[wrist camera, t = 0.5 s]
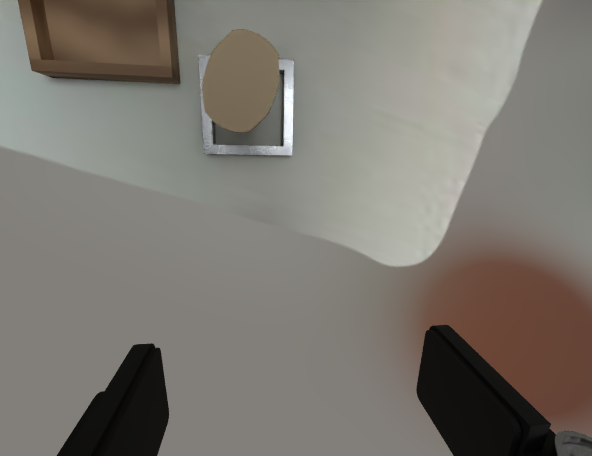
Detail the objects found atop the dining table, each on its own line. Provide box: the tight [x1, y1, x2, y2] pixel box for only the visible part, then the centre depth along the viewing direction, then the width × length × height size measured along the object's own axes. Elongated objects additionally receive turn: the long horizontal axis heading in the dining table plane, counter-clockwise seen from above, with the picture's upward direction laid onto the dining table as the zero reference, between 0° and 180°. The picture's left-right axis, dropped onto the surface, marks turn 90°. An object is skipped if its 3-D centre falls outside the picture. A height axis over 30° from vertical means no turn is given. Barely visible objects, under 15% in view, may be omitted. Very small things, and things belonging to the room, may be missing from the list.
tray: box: [18, 0, 180, 84], centre depth 29 cm, size 13×13×3 cm
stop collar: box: [198, 54, 294, 155], centre depth 33 cm, size 10×10×2 cm
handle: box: [202, 29, 280, 133], centre depth 27 cm, size 5×6×15 cm
